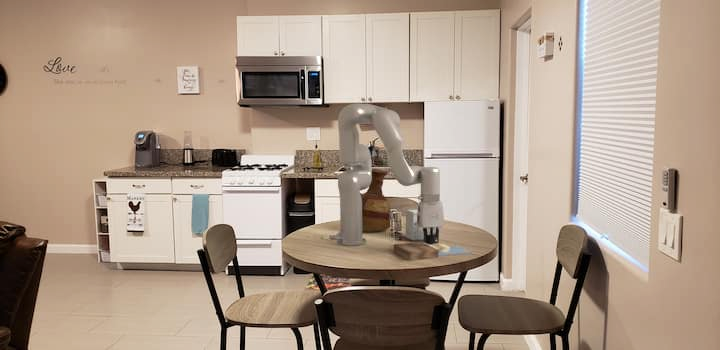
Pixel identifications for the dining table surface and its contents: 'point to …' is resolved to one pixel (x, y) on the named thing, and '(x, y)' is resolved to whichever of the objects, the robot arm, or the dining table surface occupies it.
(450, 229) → the dining table surface
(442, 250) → the birch slab
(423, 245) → the walnut block
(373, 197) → the brown vase
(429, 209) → the robot arm
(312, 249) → the dining table surface
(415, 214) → the supplement box
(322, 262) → the dining table surface
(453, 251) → the rubber mat
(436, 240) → the battery
